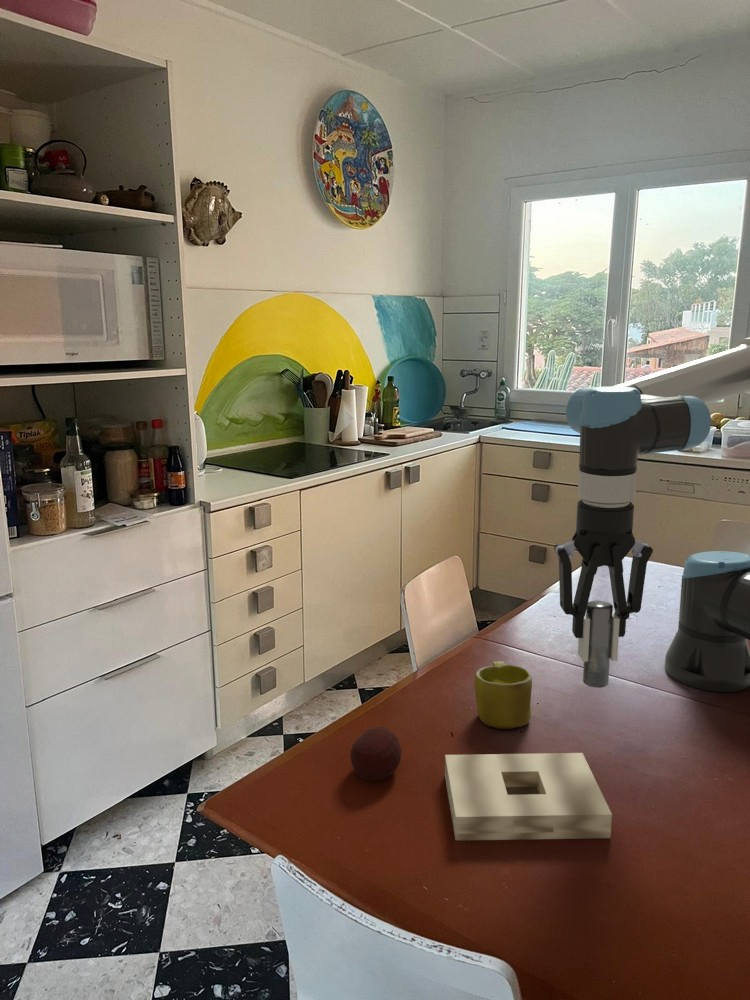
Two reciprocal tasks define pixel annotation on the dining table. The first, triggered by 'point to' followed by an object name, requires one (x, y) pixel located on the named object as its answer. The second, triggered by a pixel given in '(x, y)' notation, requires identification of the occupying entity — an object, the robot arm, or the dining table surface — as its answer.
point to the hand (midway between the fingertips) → (597, 656)
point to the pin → (598, 644)
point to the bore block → (525, 797)
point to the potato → (376, 754)
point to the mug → (503, 695)
